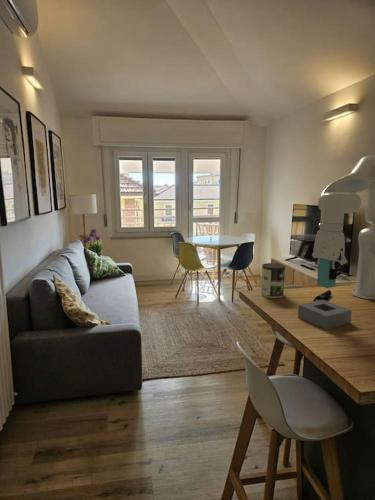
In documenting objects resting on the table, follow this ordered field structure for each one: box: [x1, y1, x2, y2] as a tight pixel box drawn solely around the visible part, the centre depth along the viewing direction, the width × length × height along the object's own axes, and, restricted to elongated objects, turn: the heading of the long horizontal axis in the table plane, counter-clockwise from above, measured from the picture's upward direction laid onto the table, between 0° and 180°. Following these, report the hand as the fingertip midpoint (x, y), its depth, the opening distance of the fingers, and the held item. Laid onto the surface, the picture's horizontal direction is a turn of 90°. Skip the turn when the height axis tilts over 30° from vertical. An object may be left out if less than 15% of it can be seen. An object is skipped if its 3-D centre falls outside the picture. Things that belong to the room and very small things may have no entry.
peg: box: [316, 259, 337, 289], centre depth 117 cm, size 4×4×10 cm
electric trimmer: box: [312, 289, 332, 302], centre depth 144 cm, size 4×16×3 cm, turn 138°
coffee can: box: [260, 262, 286, 299], centre depth 149 cm, size 10×10×14 cm
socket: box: [297, 299, 353, 331], centre depth 120 cm, size 13×13×5 cm
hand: (326, 277), depth 117 cm, fingers closed on peg, 4 cm apart
